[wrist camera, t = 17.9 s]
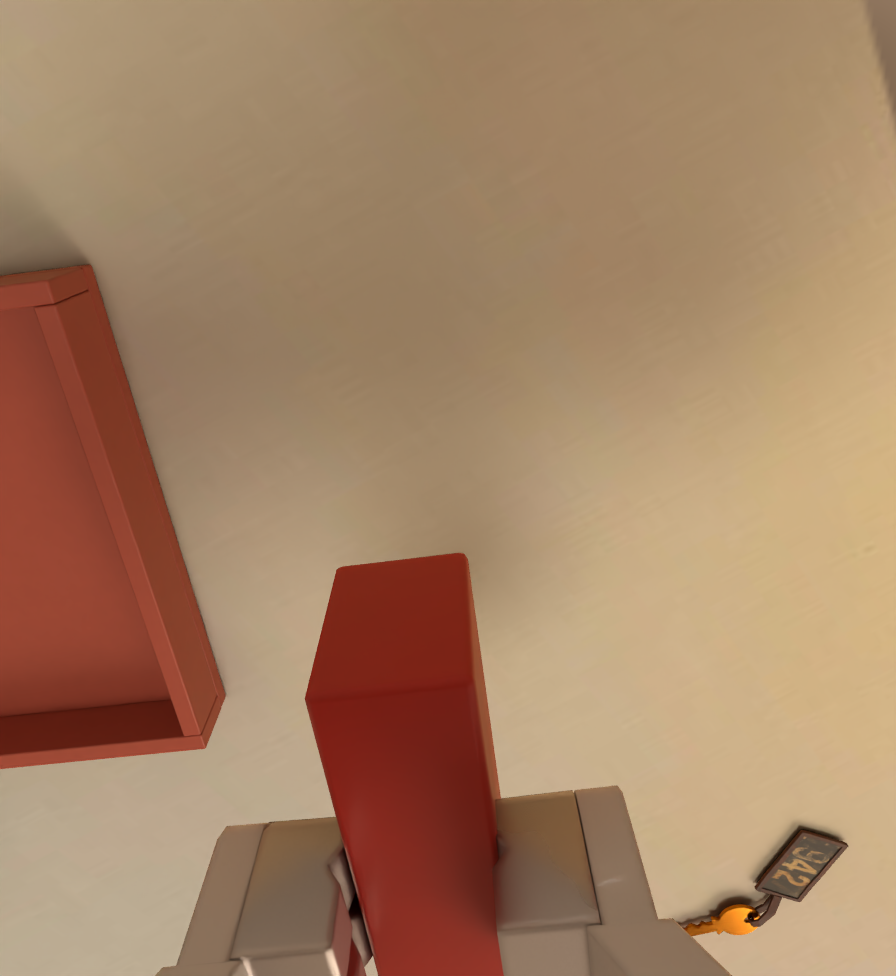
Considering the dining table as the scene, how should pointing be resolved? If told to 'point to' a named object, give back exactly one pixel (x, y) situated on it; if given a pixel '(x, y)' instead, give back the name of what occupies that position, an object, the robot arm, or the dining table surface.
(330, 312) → the dining table surface
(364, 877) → the red spoon
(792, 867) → the key tag
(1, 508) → the red tray
